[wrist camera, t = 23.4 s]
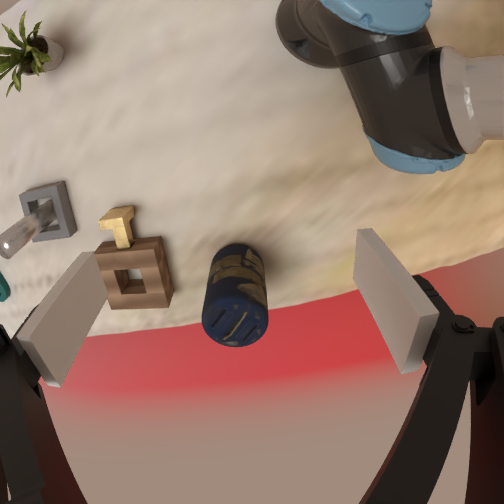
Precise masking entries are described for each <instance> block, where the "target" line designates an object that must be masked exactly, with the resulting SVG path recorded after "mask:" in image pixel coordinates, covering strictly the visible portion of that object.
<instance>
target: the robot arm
mask: <svg viewBox="0 0 504 504" xmlns="http://www.w3.org/2000/svg"><path fill="white" fill-rule="evenodd" d="M431 7H432V0H282V1H281V3H280V5H279V7H278V10H277V14H276V29H277V33H278V35H279V38H280V40H281V41H282V43H283V45H284V46H285V47H286V48H287V50H288V51H289V52H290V53H291V54H293V55H294V56H295V57H296V58H298V59H299V60H301V61H303V62H305V63H307V64H309V65H312V66H316V67H320V68H338V67H340V70H341V72H342V74H343V77H344V79H345V81H346V83H347V86H348V88H349V90H350V93H351V95H352V98H353V100H354V103H355V105H356V108H357V110H358V113H359V115H360V118H361V120H362V123H363V131H364V133H365V135H366V137H367V138H368V139H369V142H370V144H371V147H372V149H373V152H374V154H375V156H376V157H377V158H378V159H379V161H380V162H381V163H383V164H384V165H386V166H387V167H389V168H391V169H394V170H397V171H400V172H405V173H412V174H433V173H435V172H436V171H437V170H439V171H443V172H444V171H448V170H451V169H453V168H455V167H457V166H458V165H460V164H461V163H462V161H463V160H464V158H465V154H474V153H475V152H476V151H477V150H478V149H479V147H480V146H481V145H482V143H483V142H484V141H486V140H504V55H495V56H483V57H473V58H469V57H466V56H464V55H463V54H461V53H460V52H459V51H457V50H456V49H454V48H453V47H450V46H445V47H439V48H435V46H434V44H433V42H432V39H431V37H430V34H429V32H428V30H427V27H426V25H425V23H426V22H427V20H428V18H429V17H430V11H429V10H430V8H431ZM342 66H343V67H342ZM353 279H354V281H355V283H356V285H357V287H358V289H359V290H360V292H361V294H362V296H363V298H364V300H365V302H366V304H367V305H368V308H369V310H370V312H371V314H372V316H373V317H374V319H375V321H376V323H377V325H378V327H379V329H380V332H381V333H382V336H383V338H384V340H385V342H386V344H387V346H388V348H389V350H390V352H391V354H392V356H393V358H394V361H395V363H396V365H397V367H398V369H399V371H400V374H405V373H409V372H413V371H417V370H419V368H420V365H421V363H422V360H424V362H425V364H426V365H427V368H426V371H425V373H424V375H423V377H422V380H421V382H420V384H419V385H420V386H419V389H418V391H417V394H416V396H415V398H414V401H413V403H412V405H411V408H410V410H409V412H408V415H407V417H406V419H405V421H404V423H403V425H402V428H401V430H400V432H399V434H398V436H397V438H396V440H395V442H394V444H393V446H392V448H391V450H390V452H389V453H388V455H387V457H386V459H385V461H384V463H383V465H382V466H381V468H380V470H379V471H378V473H377V475H376V477H375V478H374V480H373V482H372V483H371V485H370V487H369V488H368V490H367V491H366V493H365V495H364V496H363V498H362V499H361V501H360V502H359V504H427V502H428V500H429V498H430V496H431V494H432V491H433V489H434V487H435V485H436V482H437V480H438V478H439V475H440V473H441V470H442V468H443V465H444V463H445V460H446V457H447V455H448V452H449V449H450V446H451V443H452V440H453V437H454V434H455V431H456V428H457V424H458V421H459V417H460V414H461V410H462V407H463V403H464V399H465V395H466V391H467V387H468V382H469V381H470V396H471V441H470V442H471V443H470V460H469V472H468V482H467V490H466V498H465V504H504V317H499V318H497V319H496V320H495V321H494V323H493V326H492V328H485V327H484V328H483V327H477V326H476V325H475V323H474V322H473V321H472V320H471V319H469V318H467V317H465V316H462V315H455V314H454V313H453V311H452V310H451V309H450V308H449V306H448V305H447V303H446V302H445V301H444V300H443V299H442V297H441V296H439V293H438V292H437V291H436V290H434V287H433V286H432V285H431V284H430V282H429V281H428V280H426V279H425V278H423V277H421V276H420V275H414V276H411V275H410V274H409V272H408V271H407V270H406V269H405V267H404V266H403V265H402V264H401V262H400V261H399V260H398V259H397V257H396V256H395V255H394V254H393V253H392V251H391V250H390V249H389V248H388V247H387V246H386V244H385V243H384V242H383V241H382V240H381V238H380V237H379V236H378V235H377V234H376V233H375V232H374V230H373V229H372V228H370V229H357V240H356V252H355V263H354V273H353ZM108 296H109V295H108V292H107V290H106V287H105V284H104V281H103V278H102V275H101V272H100V269H99V266H98V263H97V260H96V257H95V254H94V251H91V252H82V253H81V254H80V255H79V256H78V257H77V259H76V260H75V261H74V262H73V263H72V264H71V266H70V267H69V268H68V269H67V270H66V272H65V273H64V274H63V275H62V276H61V278H60V279H59V280H58V281H57V282H56V284H55V285H54V286H53V287H52V289H51V290H50V291H49V292H48V294H47V295H46V296H45V298H44V299H43V300H42V301H41V303H40V304H38V305H37V306H36V307H35V308H34V309H33V310H32V311H31V313H30V314H29V315H28V316H29V317H27V318H26V319H25V321H24V323H22V325H21V326H20V328H19V329H18V330H17V332H16V333H15V335H14V336H13V337H12V339H10V337H9V336H8V334H7V332H6V330H5V329H4V327H3V325H1V324H0V504H87V502H86V500H85V498H84V496H83V494H82V492H81V490H80V488H79V486H78V484H77V482H76V480H75V478H74V475H73V473H72V471H71V468H70V466H69V464H68V462H67V459H66V457H65V455H64V452H63V449H62V447H61V444H60V442H59V439H58V437H57V434H56V431H55V428H54V425H53V422H52V419H51V416H50V413H49V410H48V407H47V404H46V400H45V397H44V393H43V390H42V387H41V385H40V384H39V382H38V381H39V379H40V377H41V376H42V378H43V379H44V381H45V382H46V383H47V385H49V386H55V387H61V386H62V384H63V382H64V380H65V378H66V376H67V374H68V372H69V370H70V367H71V365H72V363H73V361H74V359H75V357H76V355H77V353H78V351H79V349H80V347H81V345H82V344H83V342H84V339H85V338H86V336H87V334H88V332H89V330H90V328H91V327H92V325H93V323H94V321H95V319H96V317H97V316H98V314H99V312H100V310H101V308H102V307H103V305H104V303H105V301H106V300H107V298H108ZM7 484H8V487H9V491H10V494H11V500H10V501H8V490H7Z"/></svg>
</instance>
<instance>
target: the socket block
mask: <svg viewBox="0 0 504 504" xmlns="http://www.w3.org/2000/svg"><path fill="white" fill-rule="evenodd" d="M133 240H134V245H133V246H132V248H131V249H122V250H118V248H117V245H116V241H110V242H102V243H101V245H100V246H99V247H98V248H97V249H96V251H95V252H94V254H95V257H96V260H97V263H98V266H99V269H100V272H101V275H102V278H103V281H104V284H105V287H106V290H107V292H108V295H109V296H108V298H107V299H108V302H109V305H110V307H111V310H115V309H150V308H169V305H170V302H171V299H172V296H173V293H174V292H173V288H172V283H171V279H170V275H169V271H168V267H167V262H166V258H165V254H164V249H163V245H162V240H161V236H159V237H149V238H139V239H133ZM139 268H140V271H141V275H142V278H143V279H138V280H129V277H128V274H127V271H126V269H139Z"/></svg>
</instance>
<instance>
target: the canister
mask: <svg viewBox="0 0 504 504" xmlns="http://www.w3.org/2000/svg"><path fill="white" fill-rule="evenodd" d="M202 325H203V328H204V330H205V332H206V333H207V335H208V336H209V337H210V338H211V339H213V340H214V341H216V342H217V343H219V344H222V345H225V346H229V347H243V346H247V345H250V344H252V343H254V342H256V341H257V340H259V339H260V338H261V337H262V336H263V335H264V333H265V331H266V329H267V326H268V305H267V292H266V284H265V274H264V265H263V262H262V259H261V257H260V256H259V255H258V253H257V252H255V251H254V250H253V249H251V248H249V247H247V246H243V245H231V246H227V247H225V248H223V249H221V250H220V251H219V252H218V253H217V254H216V255H215V256H214V258H213V260H212V263H211V267H210V272H209V277H208V282H207V289H206V295H205V300H204V305H203V311H202Z"/></svg>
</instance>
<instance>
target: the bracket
mask: <svg viewBox="0 0 504 504" xmlns="http://www.w3.org/2000/svg"><path fill="white" fill-rule="evenodd" d="M9 295H10V288H9V285H8V283H7V282H6V280H5V279H4V277H3V275H2V274H1V272H0V302H4V301H5V300H6V299H7V298H8V297H9Z"/></svg>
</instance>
